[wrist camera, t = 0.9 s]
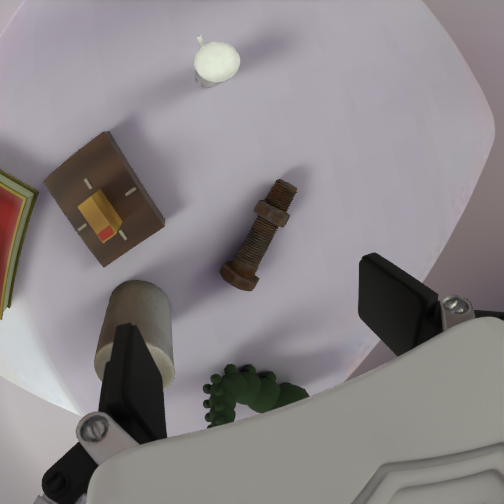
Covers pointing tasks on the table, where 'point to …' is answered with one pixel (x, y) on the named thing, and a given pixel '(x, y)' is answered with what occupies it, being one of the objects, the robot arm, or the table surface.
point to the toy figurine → (246, 394)
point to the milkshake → (215, 63)
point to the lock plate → (116, 191)
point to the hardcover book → (12, 230)
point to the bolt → (259, 237)
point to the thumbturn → (101, 215)
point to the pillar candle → (139, 325)
